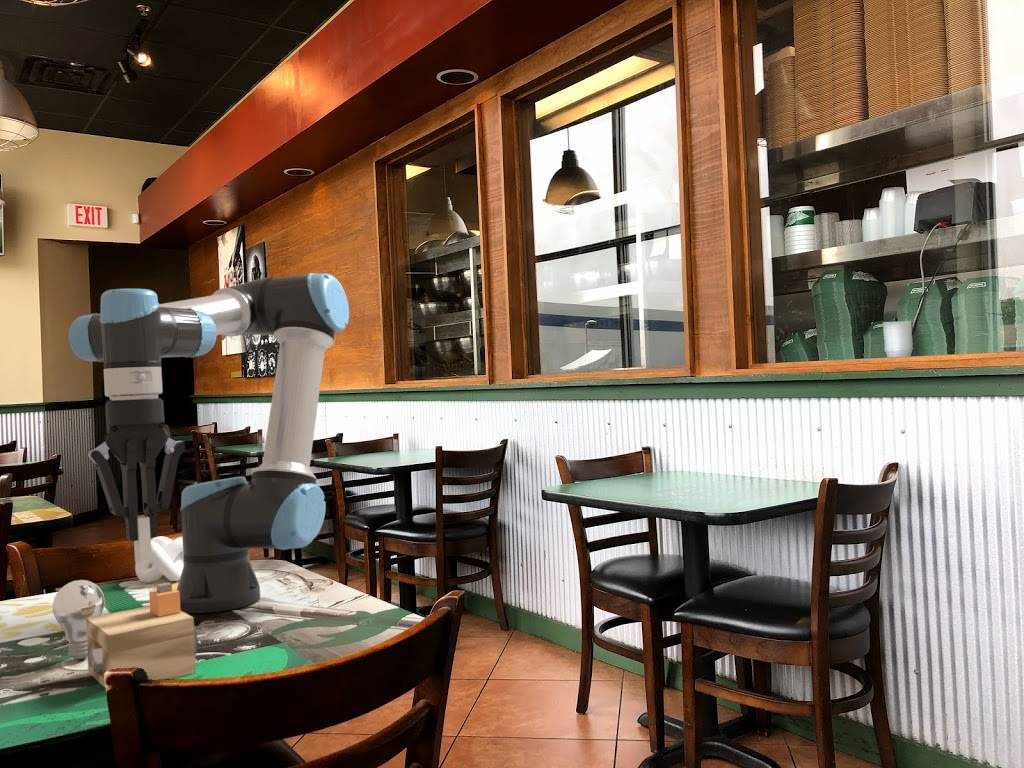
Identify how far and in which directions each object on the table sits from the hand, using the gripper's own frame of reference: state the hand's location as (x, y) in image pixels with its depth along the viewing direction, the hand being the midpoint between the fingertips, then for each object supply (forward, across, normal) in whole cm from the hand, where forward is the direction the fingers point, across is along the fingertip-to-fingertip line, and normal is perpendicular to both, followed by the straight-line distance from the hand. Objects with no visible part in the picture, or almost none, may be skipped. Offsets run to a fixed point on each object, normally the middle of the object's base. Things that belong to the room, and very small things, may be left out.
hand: (143, 561), depth 116 cm
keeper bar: (+8, +2, 0) cm, 8 cm away
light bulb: (+16, -6, +13) cm, 21 cm away
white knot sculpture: (+17, +20, +59) cm, 64 cm away
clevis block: (+16, -1, 0) cm, 16 cm away
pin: (+16, -1, 0) cm, 16 cm away
